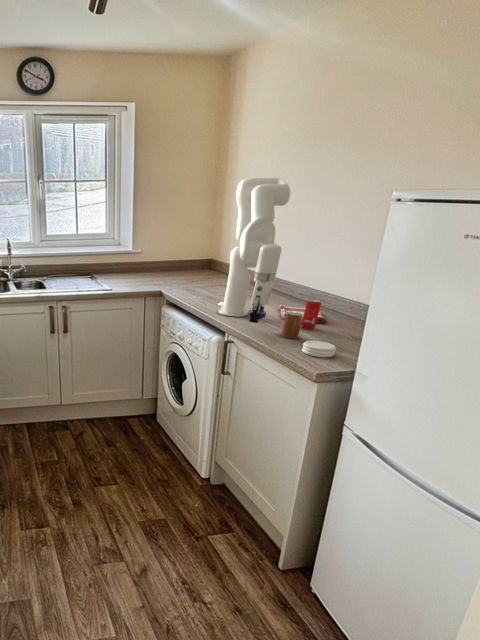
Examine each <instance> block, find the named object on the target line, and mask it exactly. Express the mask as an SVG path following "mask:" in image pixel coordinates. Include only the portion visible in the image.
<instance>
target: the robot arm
mask: <svg viewBox="0 0 480 640" xmlns="http://www.w3.org/2000/svg"><path fill="white" fill-rule="evenodd" d="M290 198H291V188H290V186H289V184H288V183H287V182H286V181H285V180H284V179H282V178H280V177H249V178H244V179H242V180H240V181H239V183H238V184H237V187H236V192H235V199H236V200H235V202H236V206H237V213H238V214H237V220H236V221H237V222H236V230H235V240H236V241H237V242H238V243H239V245H237V246H235V247H233V248H232V249H231V251H230V253H229V254H230V255H229V269H228V276H227V283H226V289H225V292H224V299H223V301H220V302H218V303H217V306H218V307H220V309H219V310H218V313H219V314H220V315H223V316H227V317H234V318H237V317H239V318H242V317H247V316H248V311H246V310H245V309H246V303H247V299H248V293H249V290H250V289H249V288H250V283H251V274H250V272H249V271H248V269H250V268H252V269H253V268H254V269H255V272H254V276H253V281H254V282H255V285H254V289H253V293H252V297H251V306H252V308H251V310H252V311H251V315H250V316H249V320H248V321H249V323H253V324H258V323H259V320H262V319H263V318H259V315H260V313H259V311H260V310H261V311H264V312H265V310H264V309H265V307H266V306H267V305H268V304H269V303H270V297H271V294H272V293H271V292H272V288H273V287H272V286H273V283H274V282H275V281H276V276H277V271H278V267H279V263H280V258H281V254H282V247H281V246H280V245H279V244H277V243H275V239H276V225H275V224H274V221H275V207H277V206H278V207H283V206H286V205H287V204H288V202H289V201H290ZM247 268H248V269H247Z"/></svg>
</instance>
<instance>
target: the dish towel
mask: <svg viewBox="0 0 480 640" xmlns="http://www.w3.org/2000/svg"><path fill="white" fill-rule="evenodd" d="M278 308H279V309H278V310H279V313H280V315H281V317H282V319H283V320H284V321H285V317H286V316H287V313H289V312H296V313H301V314H302V318H303V315H304V311H305V308H306V307H301V306H287V305H283V304H280V305H279V306H278ZM326 322H327V319H326V317H324V316H323V314H322V313H321V312H320V311H319V314H318V317H317V321H316V323H319V324H324V323H326Z"/></svg>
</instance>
